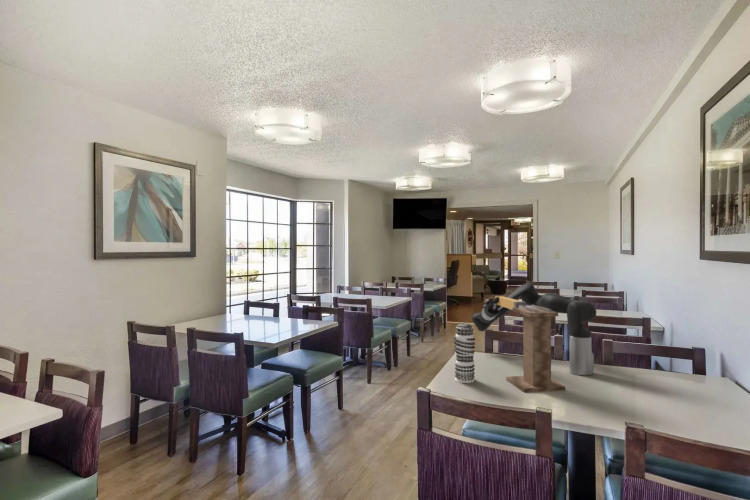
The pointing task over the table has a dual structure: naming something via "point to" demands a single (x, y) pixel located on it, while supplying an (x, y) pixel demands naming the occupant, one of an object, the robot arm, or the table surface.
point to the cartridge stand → (536, 351)
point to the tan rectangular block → (509, 302)
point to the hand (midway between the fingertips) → (502, 298)
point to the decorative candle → (464, 353)
